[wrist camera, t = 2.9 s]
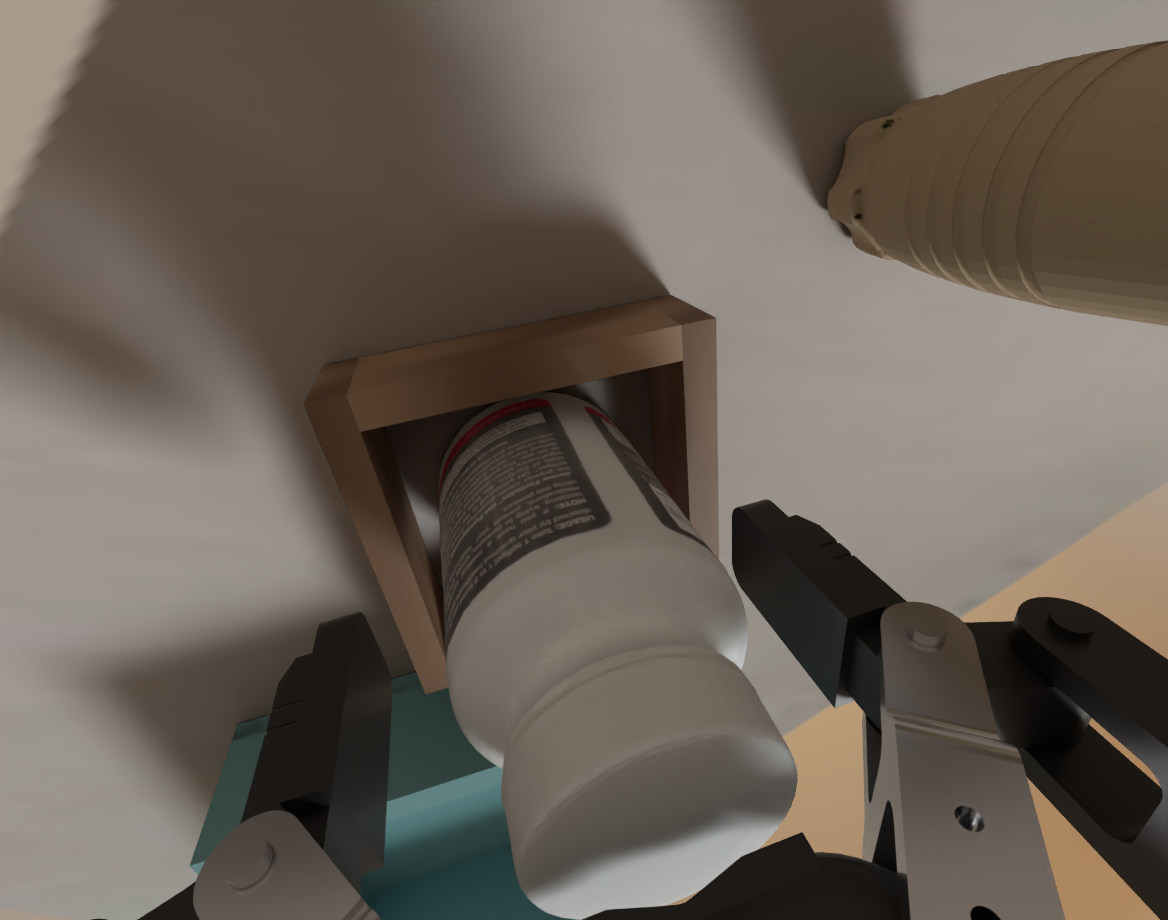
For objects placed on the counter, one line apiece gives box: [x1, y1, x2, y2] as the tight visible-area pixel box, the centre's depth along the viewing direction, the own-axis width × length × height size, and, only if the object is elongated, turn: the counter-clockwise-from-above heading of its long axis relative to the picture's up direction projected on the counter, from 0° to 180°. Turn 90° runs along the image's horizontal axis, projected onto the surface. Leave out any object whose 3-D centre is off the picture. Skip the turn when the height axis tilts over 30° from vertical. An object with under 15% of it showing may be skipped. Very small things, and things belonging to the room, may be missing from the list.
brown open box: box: [304, 295, 719, 694], centre depth 14 cm, size 9×9×2 cm
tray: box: [190, 672, 577, 920], centre depth 19 cm, size 11×11×4 cm
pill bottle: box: [439, 392, 797, 920], centre depth 11 cm, size 5×5×10 cm
